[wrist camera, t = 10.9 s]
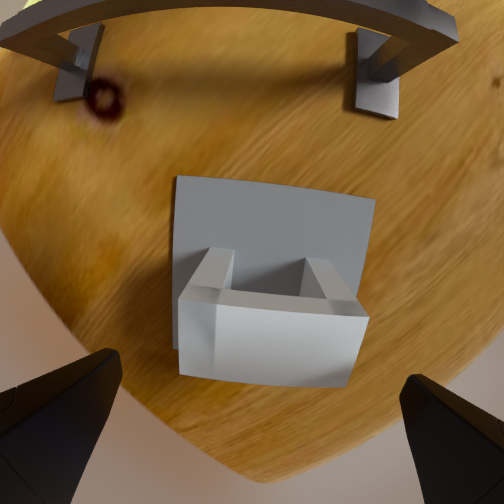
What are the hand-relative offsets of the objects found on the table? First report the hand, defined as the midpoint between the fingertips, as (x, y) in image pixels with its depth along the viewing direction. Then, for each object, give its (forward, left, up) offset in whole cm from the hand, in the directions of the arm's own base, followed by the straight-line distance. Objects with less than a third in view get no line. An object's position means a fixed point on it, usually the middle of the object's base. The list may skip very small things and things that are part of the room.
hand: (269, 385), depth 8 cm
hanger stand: (+4, -12, -8) cm, 15 cm away
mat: (0, 0, -8) cm, 8 cm away
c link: (0, 0, -8) cm, 8 cm away
